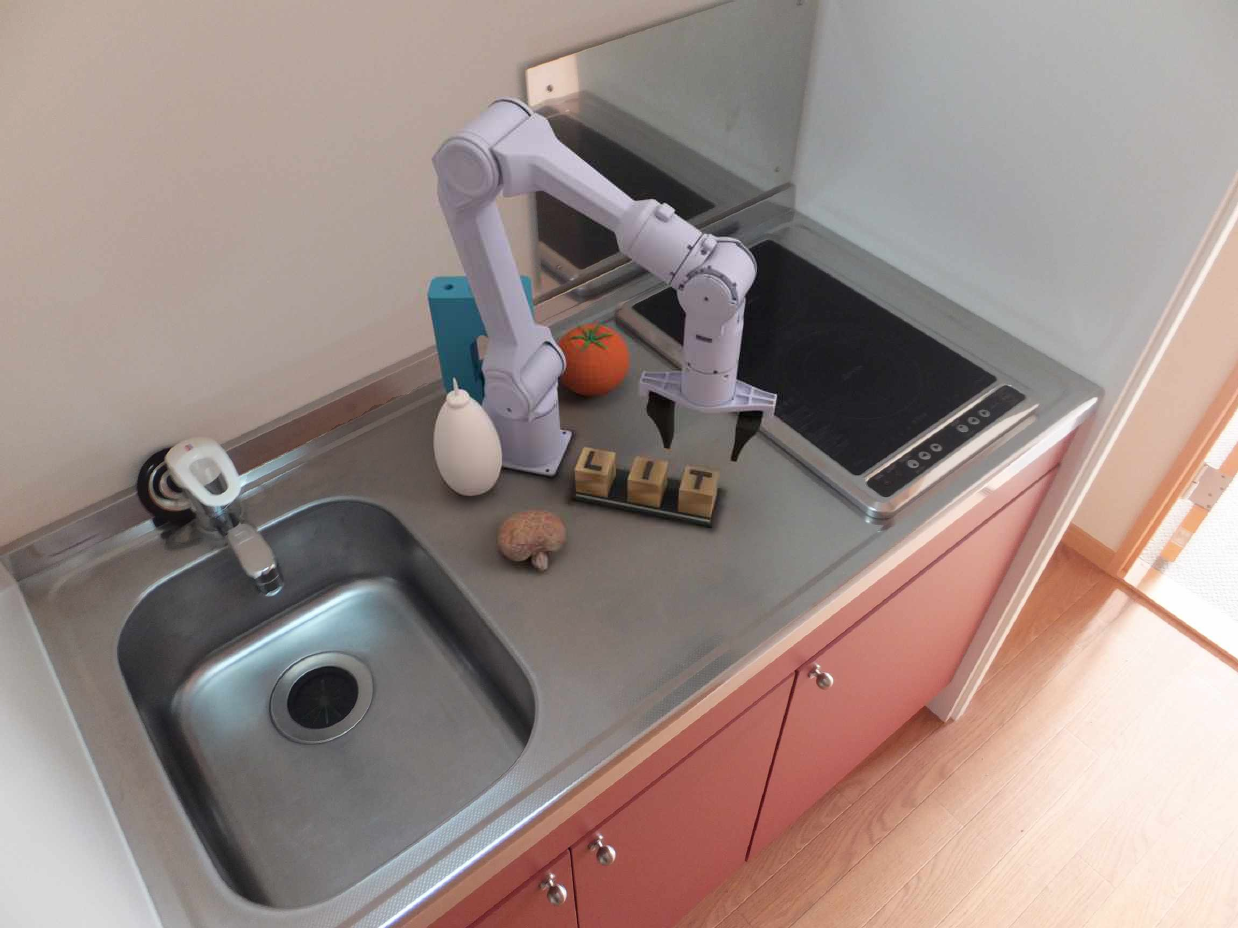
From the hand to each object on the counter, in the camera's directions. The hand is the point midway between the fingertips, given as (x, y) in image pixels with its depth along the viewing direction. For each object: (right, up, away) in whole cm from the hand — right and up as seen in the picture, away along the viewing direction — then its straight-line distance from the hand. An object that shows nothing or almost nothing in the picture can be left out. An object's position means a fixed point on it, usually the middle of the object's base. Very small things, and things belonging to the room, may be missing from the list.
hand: (701, 449), depth 99 cm
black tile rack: (-6, -6, +8) cm, 12 cm away
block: (-26, +4, +19) cm, 32 cm away
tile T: (0, -6, +7) cm, 9 cm away
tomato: (-13, +9, +23) cm, 28 cm away
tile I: (-6, -5, +8) cm, 11 cm away
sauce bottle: (-27, -5, +10) cm, 29 cm away
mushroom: (-19, -12, +3) cm, 23 cm away
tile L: (-12, -4, +9) cm, 16 cm away
